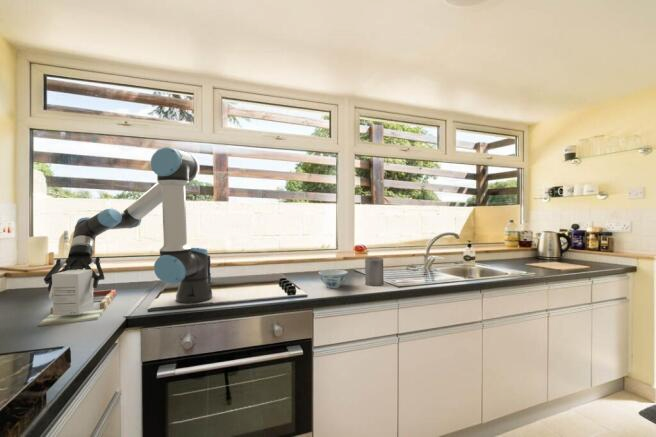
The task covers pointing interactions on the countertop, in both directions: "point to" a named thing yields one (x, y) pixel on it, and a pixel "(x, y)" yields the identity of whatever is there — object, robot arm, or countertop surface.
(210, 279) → the storage jar
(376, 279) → the pillar candle
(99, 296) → the track
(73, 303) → the supplement box
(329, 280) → the chinaware
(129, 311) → the countertop surface
